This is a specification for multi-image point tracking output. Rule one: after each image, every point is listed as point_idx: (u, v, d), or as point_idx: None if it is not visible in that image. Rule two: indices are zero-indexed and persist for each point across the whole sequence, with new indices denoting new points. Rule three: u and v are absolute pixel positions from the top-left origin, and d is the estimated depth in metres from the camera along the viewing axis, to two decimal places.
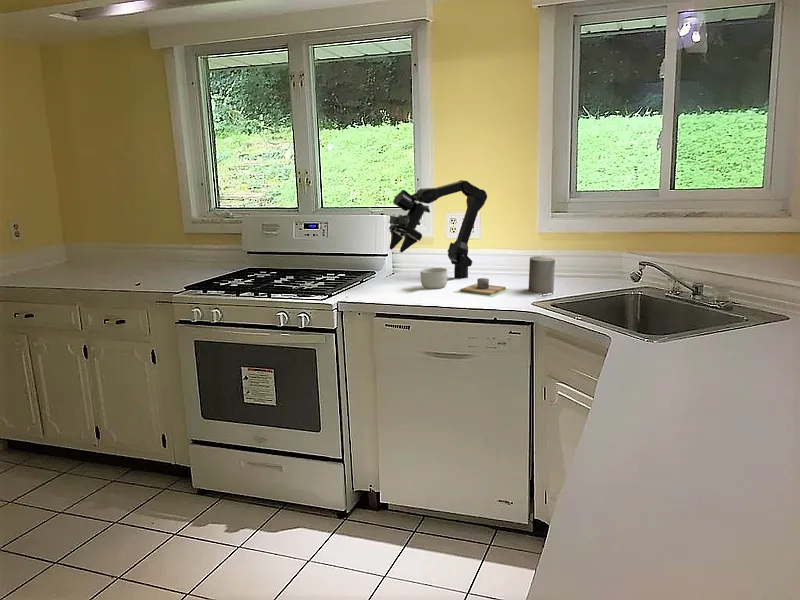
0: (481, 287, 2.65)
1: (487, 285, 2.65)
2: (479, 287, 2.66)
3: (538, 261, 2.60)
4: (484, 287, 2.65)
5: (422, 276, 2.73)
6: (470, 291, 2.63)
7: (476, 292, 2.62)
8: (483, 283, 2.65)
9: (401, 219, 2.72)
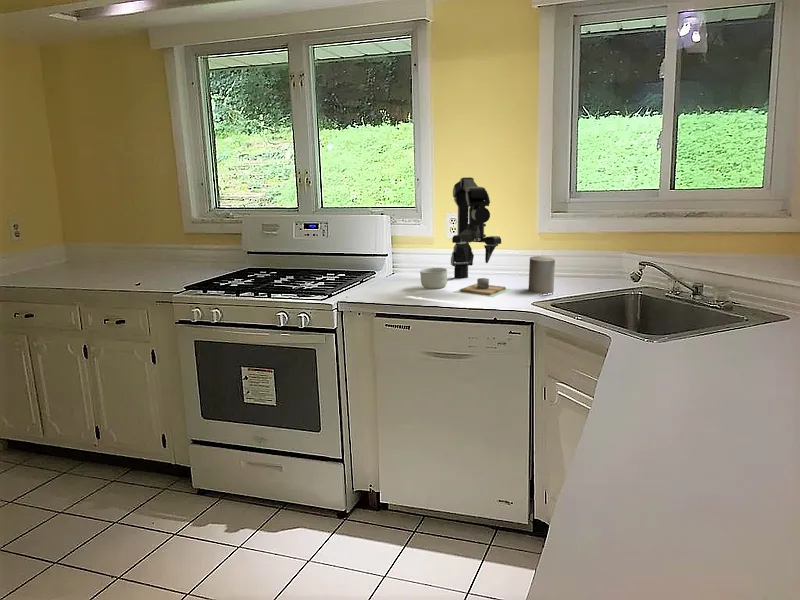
0: (481, 287, 2.65)
1: (487, 285, 2.65)
2: (479, 287, 2.66)
3: (538, 261, 2.60)
4: (484, 287, 2.65)
5: (422, 276, 2.73)
6: (470, 291, 2.63)
7: (476, 292, 2.62)
8: (483, 283, 2.65)
9: (477, 234, 2.55)
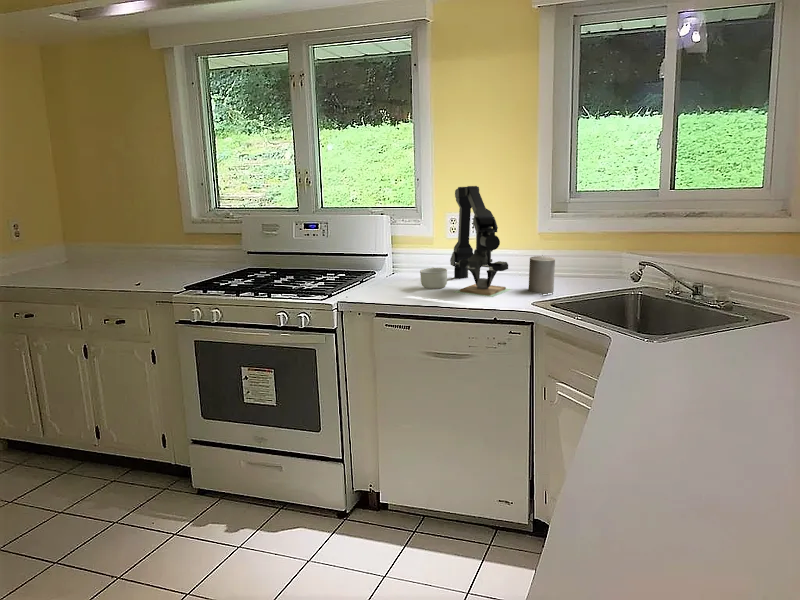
0: (481, 287, 2.65)
1: None
2: (479, 287, 2.66)
3: (538, 261, 2.60)
4: (484, 287, 2.65)
5: (422, 276, 2.73)
6: (470, 291, 2.63)
7: (476, 292, 2.62)
8: (483, 283, 2.65)
9: (485, 261, 2.57)
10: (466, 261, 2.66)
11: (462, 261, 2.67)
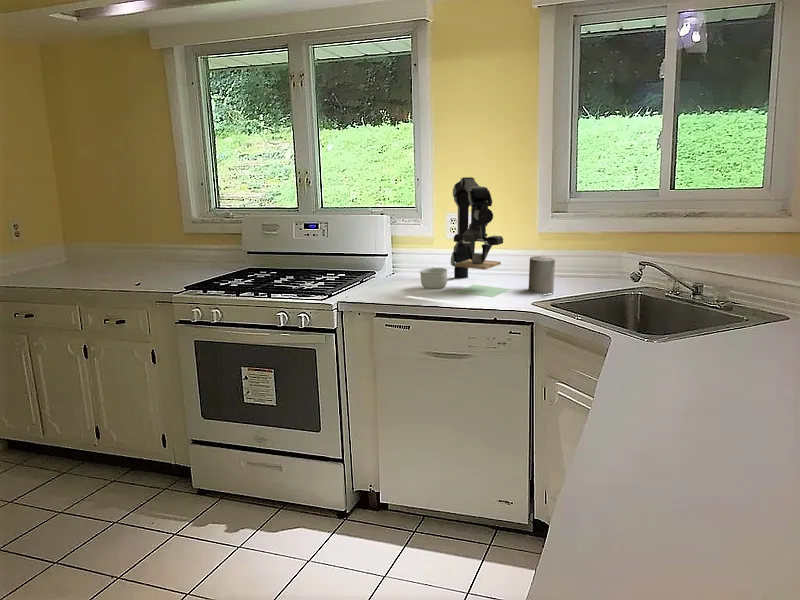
0: (476, 262, 2.64)
1: None
2: (474, 262, 2.65)
3: (538, 261, 2.60)
4: (479, 262, 2.64)
5: (422, 276, 2.73)
6: (465, 265, 2.62)
7: (471, 266, 2.61)
8: (478, 258, 2.64)
9: (480, 234, 2.56)
10: (461, 236, 2.65)
11: (457, 236, 2.66)
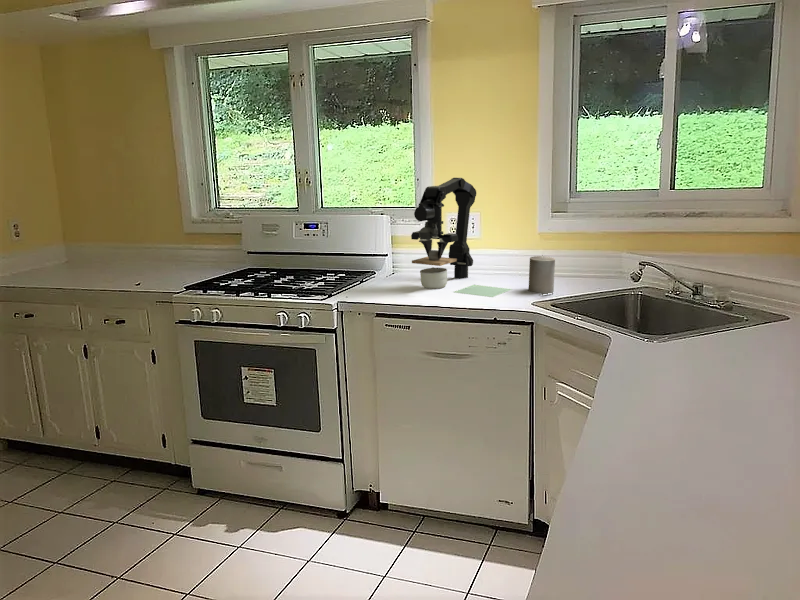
0: (432, 258, 2.73)
1: None
2: (430, 258, 2.73)
3: (538, 261, 2.60)
4: (435, 258, 2.73)
5: (422, 276, 2.73)
6: (421, 262, 2.71)
7: (427, 263, 2.70)
8: (434, 255, 2.72)
9: (435, 232, 2.65)
10: (418, 233, 2.74)
11: (414, 233, 2.75)
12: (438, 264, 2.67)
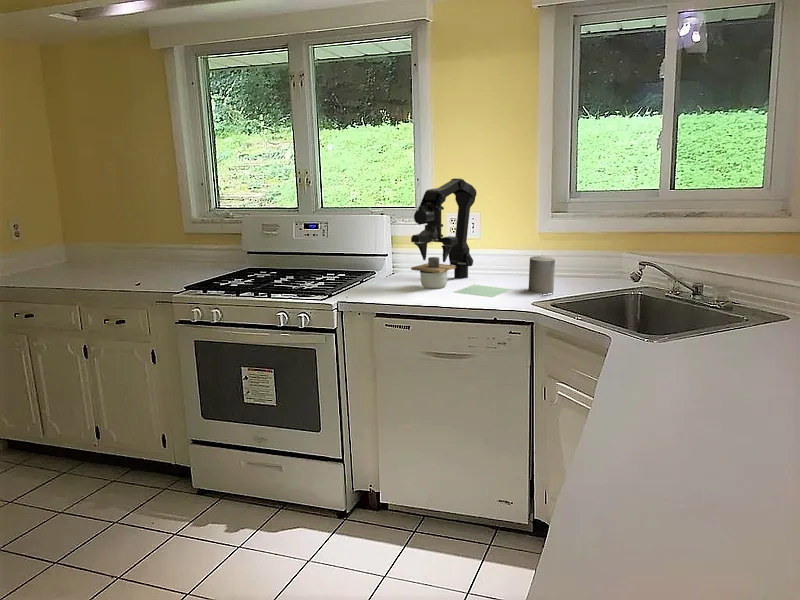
0: (432, 265, 2.73)
1: (437, 263, 2.74)
2: (430, 265, 2.74)
3: (538, 261, 2.60)
4: (434, 265, 2.73)
5: (422, 276, 2.73)
6: (421, 269, 2.72)
7: (426, 270, 2.70)
8: (434, 262, 2.73)
9: (434, 235, 2.65)
10: (418, 236, 2.74)
11: (414, 236, 2.75)
12: (437, 271, 2.67)
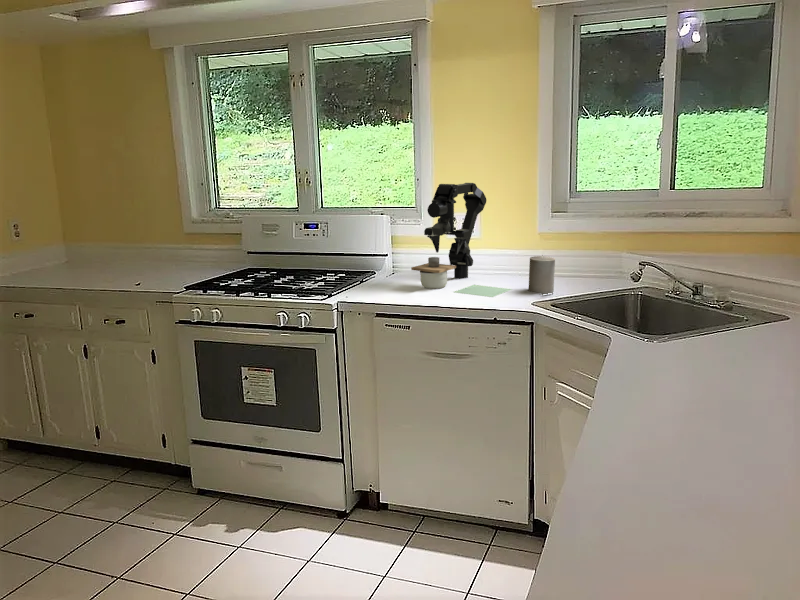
0: (432, 265, 2.73)
1: (437, 263, 2.74)
2: (430, 265, 2.74)
3: (538, 261, 2.60)
4: (434, 265, 2.73)
5: (422, 276, 2.73)
6: (421, 269, 2.72)
7: (426, 270, 2.70)
8: (434, 262, 2.73)
9: (447, 228, 2.73)
10: (431, 229, 2.82)
11: (427, 229, 2.83)
12: (437, 271, 2.67)
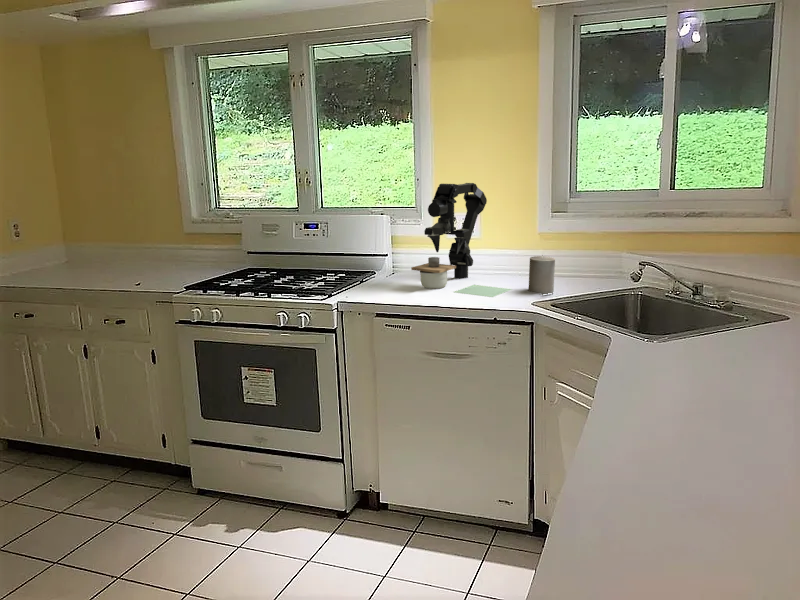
0: (432, 265, 2.73)
1: (438, 263, 2.74)
2: (430, 265, 2.74)
3: (538, 261, 2.60)
4: (435, 265, 2.73)
5: (422, 276, 2.73)
6: (421, 269, 2.71)
7: (426, 270, 2.70)
8: (434, 262, 2.73)
9: (448, 227, 2.73)
10: (431, 229, 2.82)
11: (427, 229, 2.83)
12: (438, 271, 2.67)
